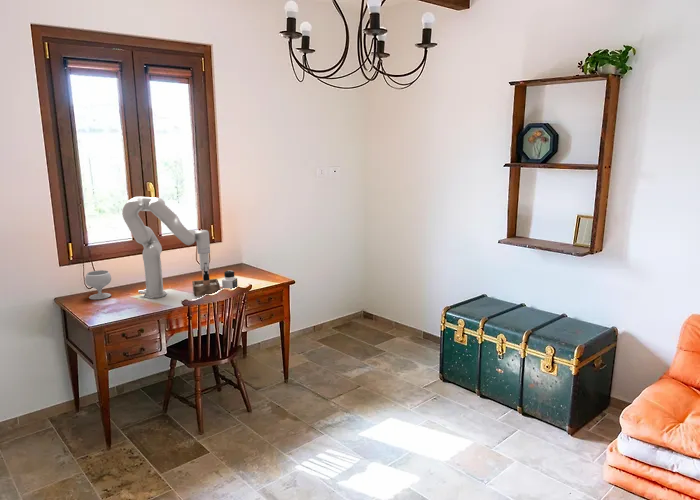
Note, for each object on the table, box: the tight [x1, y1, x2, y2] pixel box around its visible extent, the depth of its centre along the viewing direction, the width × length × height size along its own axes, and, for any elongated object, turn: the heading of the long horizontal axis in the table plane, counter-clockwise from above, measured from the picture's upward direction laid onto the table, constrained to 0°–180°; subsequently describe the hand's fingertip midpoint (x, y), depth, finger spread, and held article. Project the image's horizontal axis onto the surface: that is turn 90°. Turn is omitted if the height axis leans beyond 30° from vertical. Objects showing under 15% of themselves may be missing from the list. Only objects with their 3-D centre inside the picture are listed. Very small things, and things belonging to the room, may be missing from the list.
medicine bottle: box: [221, 270, 239, 289], centre depth 316 cm, size 7×7×12 cm
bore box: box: [192, 278, 221, 297], centre depth 311 cm, size 15×14×6 cm
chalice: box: [84, 270, 112, 300], centre depth 301 cm, size 14×14×15 cm
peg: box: [201, 268, 211, 286], centre depth 310 cm, size 4×4×12 cm
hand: (206, 279), depth 310 cm, fingers closed on peg, 4 cm apart
